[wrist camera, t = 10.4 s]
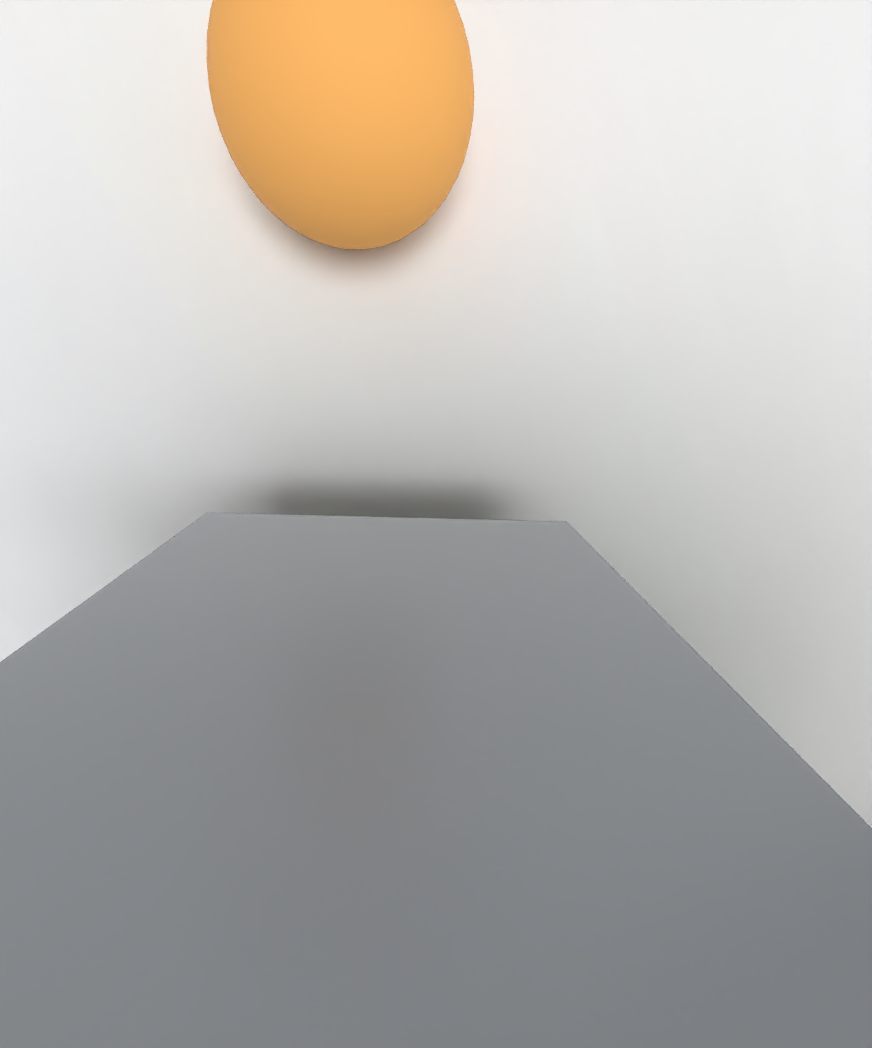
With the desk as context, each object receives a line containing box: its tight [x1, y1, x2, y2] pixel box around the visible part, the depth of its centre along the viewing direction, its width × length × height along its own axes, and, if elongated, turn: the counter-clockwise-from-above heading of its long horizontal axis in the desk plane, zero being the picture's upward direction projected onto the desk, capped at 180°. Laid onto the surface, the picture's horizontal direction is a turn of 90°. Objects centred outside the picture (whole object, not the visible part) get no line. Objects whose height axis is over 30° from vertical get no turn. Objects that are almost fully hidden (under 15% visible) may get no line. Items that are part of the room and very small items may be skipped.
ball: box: [207, 0, 474, 249], centre depth 10 cm, size 5×5×5 cm
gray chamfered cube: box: [0, 512, 872, 1048], centre depth 8 cm, size 8×8×9 cm
